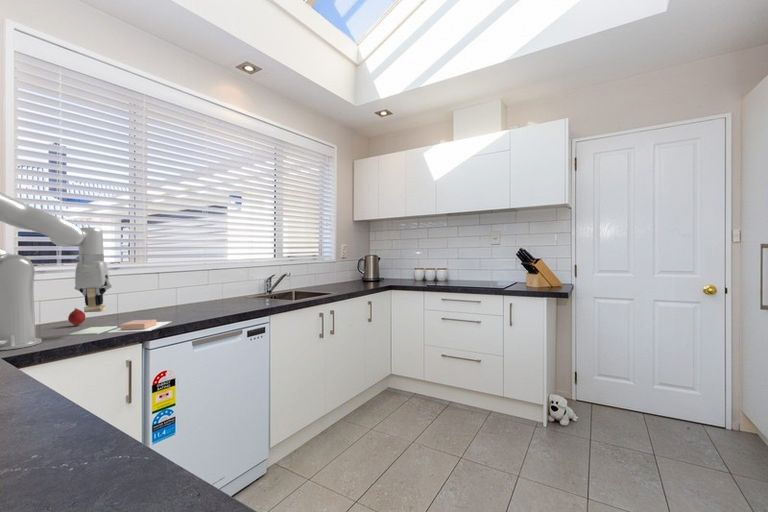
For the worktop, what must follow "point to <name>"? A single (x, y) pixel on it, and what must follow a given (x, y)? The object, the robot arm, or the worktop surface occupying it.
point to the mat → (142, 329)
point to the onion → (76, 317)
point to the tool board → (93, 330)
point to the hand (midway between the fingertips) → (94, 304)
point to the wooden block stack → (93, 302)
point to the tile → (138, 324)
